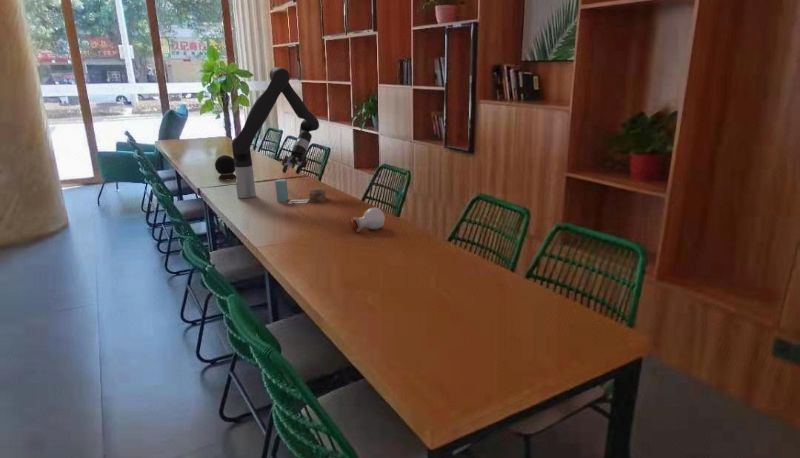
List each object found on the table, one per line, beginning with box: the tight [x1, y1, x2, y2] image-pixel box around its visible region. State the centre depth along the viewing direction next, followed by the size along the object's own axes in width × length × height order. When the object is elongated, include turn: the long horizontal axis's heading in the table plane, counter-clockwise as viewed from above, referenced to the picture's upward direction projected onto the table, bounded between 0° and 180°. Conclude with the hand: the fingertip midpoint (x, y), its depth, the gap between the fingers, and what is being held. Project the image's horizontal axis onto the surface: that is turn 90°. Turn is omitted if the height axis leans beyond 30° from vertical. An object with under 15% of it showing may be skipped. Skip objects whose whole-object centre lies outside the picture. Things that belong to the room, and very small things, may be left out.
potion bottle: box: [349, 207, 386, 233], centre depth 221 cm, size 9×10×15 cm
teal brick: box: [274, 178, 289, 203], centre depth 275 cm, size 5×5×11 cm
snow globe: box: [214, 154, 236, 181], centre depth 337 cm, size 13×13×15 cm
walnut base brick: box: [308, 188, 327, 203], centre depth 275 cm, size 8×8×5 cm
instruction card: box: [287, 198, 310, 205], centre depth 273 cm, size 10×7×1 cm
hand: (290, 172), depth 281 cm, fingers open, 8 cm apart
